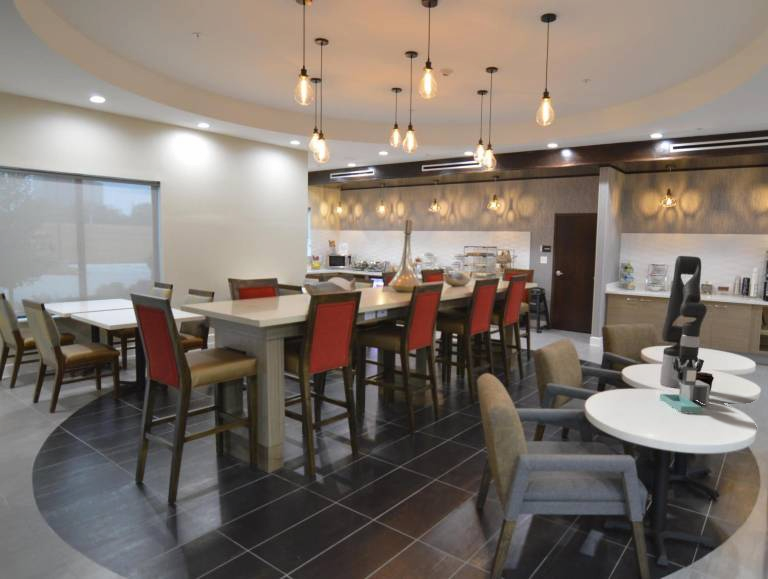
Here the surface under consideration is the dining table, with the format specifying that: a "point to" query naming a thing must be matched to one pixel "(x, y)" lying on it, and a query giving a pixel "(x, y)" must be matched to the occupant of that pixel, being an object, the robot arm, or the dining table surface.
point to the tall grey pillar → (684, 374)
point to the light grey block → (696, 392)
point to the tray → (680, 403)
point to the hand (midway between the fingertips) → (686, 380)
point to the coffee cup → (705, 378)
